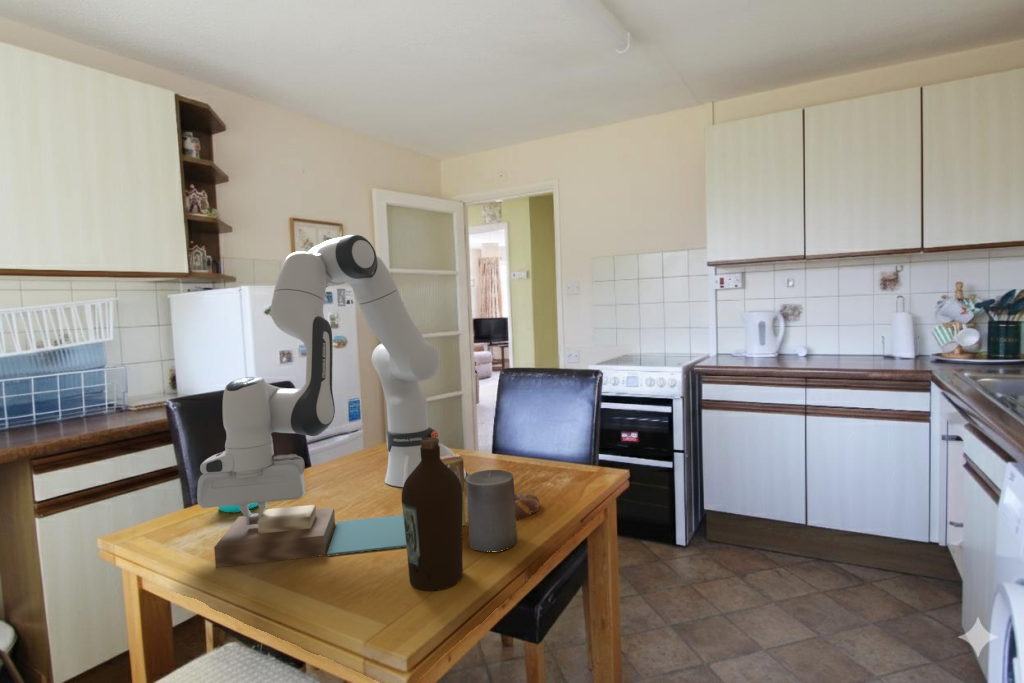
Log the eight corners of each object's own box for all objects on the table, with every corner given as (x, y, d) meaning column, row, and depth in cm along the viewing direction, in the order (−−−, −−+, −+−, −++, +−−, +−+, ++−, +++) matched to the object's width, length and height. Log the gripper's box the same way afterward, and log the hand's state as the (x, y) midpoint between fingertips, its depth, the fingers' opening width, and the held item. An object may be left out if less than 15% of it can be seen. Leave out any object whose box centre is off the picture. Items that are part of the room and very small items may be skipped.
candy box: (460, 519, 128) (457, 452, 127) (467, 526, 124) (463, 457, 123) (422, 527, 124) (418, 458, 123) (428, 534, 120) (424, 463, 119)
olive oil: (455, 559, 108) (449, 429, 106) (474, 584, 98) (468, 441, 96) (399, 572, 103) (392, 437, 102) (414, 599, 94) (406, 450, 92)
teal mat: (409, 516, 131) (409, 514, 131) (409, 546, 114) (409, 544, 114) (337, 523, 128) (337, 521, 128) (327, 556, 111) (327, 553, 111)
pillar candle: (512, 530, 120) (509, 461, 119) (521, 550, 111) (517, 474, 110) (466, 536, 119) (462, 466, 118) (471, 556, 109) (467, 479, 108)
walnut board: (335, 524, 127) (334, 507, 127) (324, 555, 112) (323, 535, 111) (240, 534, 124) (238, 516, 124) (215, 567, 108) (214, 547, 108)
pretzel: (528, 500, 140) (527, 485, 139) (549, 514, 130) (549, 498, 130) (483, 508, 135) (482, 493, 134) (501, 524, 125) (501, 507, 125)
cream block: (316, 515, 122) (315, 504, 122) (310, 528, 115) (309, 516, 115) (267, 520, 121) (266, 509, 120) (258, 533, 114) (257, 521, 113)
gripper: (306, 449, 121) (310, 512, 122) (202, 457, 117) (208, 522, 118) (300, 456, 115) (305, 523, 116) (191, 466, 111) (196, 534, 112)
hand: (255, 523), depth 117 cm, fingers closed
